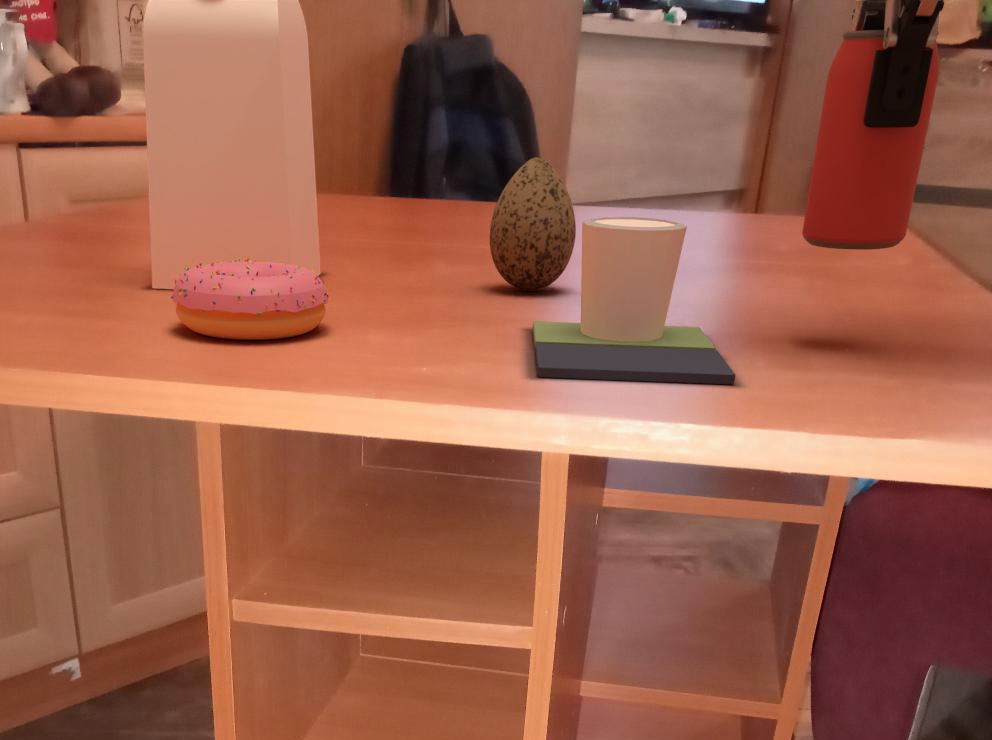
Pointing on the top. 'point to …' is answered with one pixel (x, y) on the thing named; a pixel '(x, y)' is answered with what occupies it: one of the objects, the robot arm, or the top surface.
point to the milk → (228, 135)
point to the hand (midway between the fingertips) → (873, 122)
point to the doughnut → (250, 300)
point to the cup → (628, 276)
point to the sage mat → (572, 336)
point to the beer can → (863, 157)
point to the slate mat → (632, 364)
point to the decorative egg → (533, 227)
